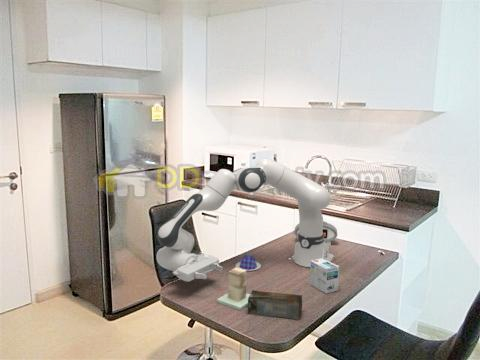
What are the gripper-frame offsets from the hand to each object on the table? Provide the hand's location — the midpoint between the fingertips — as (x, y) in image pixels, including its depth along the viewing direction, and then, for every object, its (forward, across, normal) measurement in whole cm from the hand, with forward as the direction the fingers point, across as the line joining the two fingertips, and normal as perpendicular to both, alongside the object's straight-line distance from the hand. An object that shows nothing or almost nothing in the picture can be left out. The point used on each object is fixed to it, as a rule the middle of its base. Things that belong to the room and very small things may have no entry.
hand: (213, 272), depth 160 cm
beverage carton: (+27, +2, +9) cm, 29 cm away
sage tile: (+11, 0, +8) cm, 14 cm away
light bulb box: (+33, +31, +8) cm, 46 cm away
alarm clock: (+6, +81, +8) cm, 82 cm away
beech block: (+11, 0, +7) cm, 13 cm away
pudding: (-5, +31, +9) cm, 33 cm away
